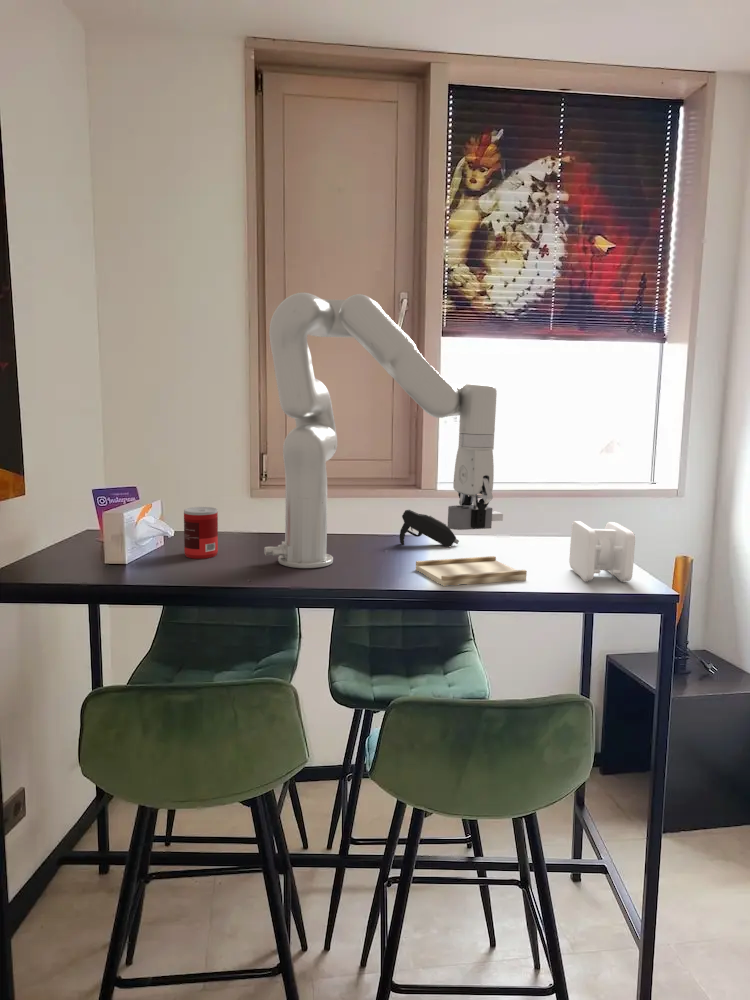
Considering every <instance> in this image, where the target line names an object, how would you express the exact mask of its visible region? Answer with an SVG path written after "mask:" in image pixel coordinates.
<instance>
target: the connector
mask: <svg viewBox="0 0 750 1000" xmlns="http://www.w3.org/2000/svg"><path fill="white" fill-rule="evenodd" d="M447 509H448V511H447V526H448V528H449V529H450V530H457V531H464V530H483V529H484V530H485V529H486V530H487V529H490V530H491V529H492V522H503V520H504V513H503V512H499V511H495V510H494V511H493V507H490V506H489V505H487V510H486V518H485V527H484V528H471V513H472V510H474V508H473V504H472V505H460V504H459V505H449V506H448V507H447Z"/></svg>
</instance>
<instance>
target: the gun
mask: <svg viewBox="0 0 750 1000" xmlns="http://www.w3.org/2000/svg"><path fill="white" fill-rule="evenodd" d="M401 518H402V520H403V524H402V527H401V528H400V531H399V543H400V545H401V544H402V545H403V546H404V545H405V538H406V537H405V536H406V534H407V533H408V534H410V535H412V536H414V537H421V536H422V535H424V536H426V537H427V538H430V539H431V540H433V541H435V542H437V543H438V544H441V545H442V546H444V547H446V548H450V547H449V546H451V547H452V546H453V544H456V545H458V544H459V542H460V540H459V539H457V537H456V535H455V534H454V531H452V529H449V528H448V525H447V524H446V523H445V522H442V521H441V520H439V519H437V518H435V517H433V516H432V515H427V514H422V513H417V512H416V511H414V510H411V509H406V510H404V512H403V513H402V515H401ZM409 529H410V530H409ZM414 530H415V531H417V532H418V534H416V533H415V532H413V531H414Z"/></svg>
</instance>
